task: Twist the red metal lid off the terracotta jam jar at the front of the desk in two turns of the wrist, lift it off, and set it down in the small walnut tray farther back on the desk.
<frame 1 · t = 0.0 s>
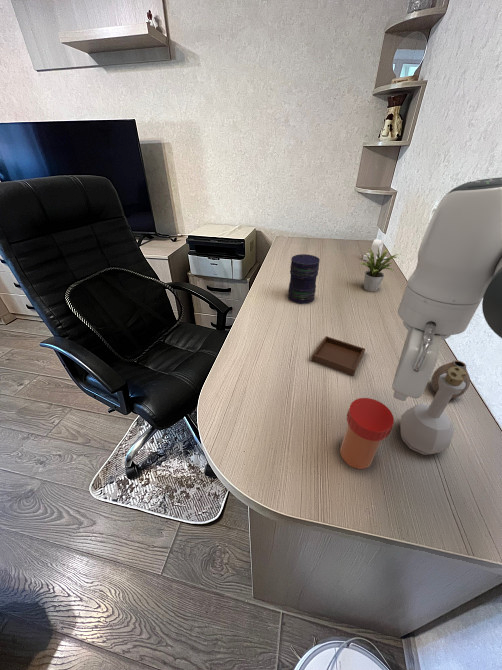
hand: (403, 379, 47), 15 cm above the table, tool pointing down, fingers open, 8 cm apart
jar: (355, 454, 52), on the table
jar lid: (370, 415, 46), point 11 cm above the table, screwed on, not yet turned
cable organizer: (374, 260, 137), on the table
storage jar: (300, 298, 104), on the table
vase: (443, 392, 65), on the table
tray: (337, 357, 75), on the table
house plant: (371, 290, 109), on the table
potion bottle: (418, 439, 55), on the table
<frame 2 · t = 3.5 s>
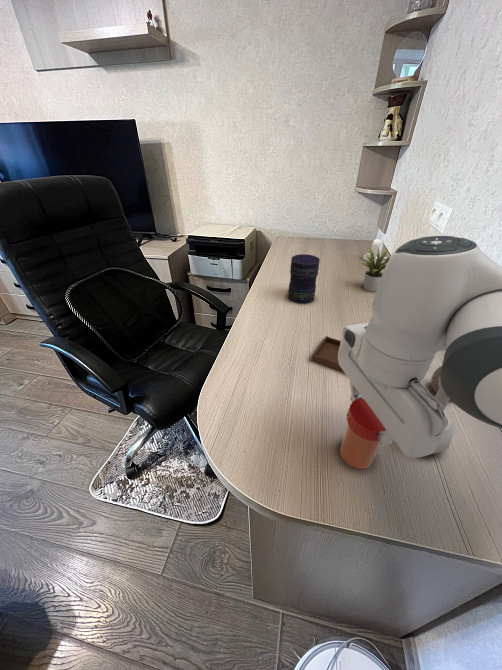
hand: (368, 420, 47), 10 cm above the table, tool pointing down, fingers closed on jar lid, 7 cm apart
jar lid: (370, 415, 46), point 11 cm above the table, screwed on, not yet turned, touching gripper
everything else where it was.
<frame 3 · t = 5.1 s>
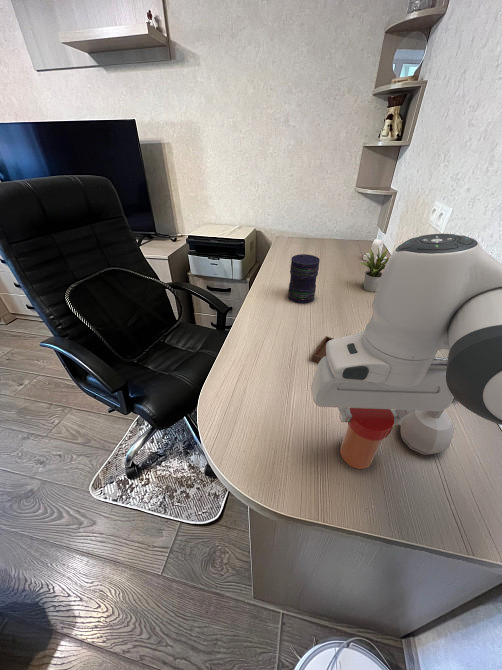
hand: (368, 420, 46), 10 cm above the table, tool pointing down, fingers closed on jar lid, 7 cm apart
jar lid: (371, 414, 45), point 12 cm above the table, turned 75° so far, risen 0.2 cm, still on its thread, touching gripper
everything else where it was.
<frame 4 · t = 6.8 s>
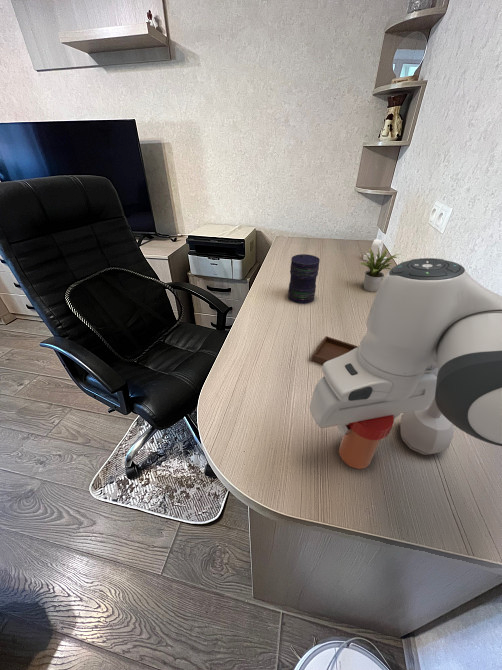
hand: (362, 428, 48), 7 cm above the table, tool pointing down, fingers closed on jar, 6 cm apart
jar: (354, 453, 52), on the table, touching gripper
jar lid: (370, 414, 45), point 12 cm above the table, turned 90° so far, risen 0.3 cm, still on its thread
everything else where it was.
when the fingers open (7 cm above the table, at t = 7.2 s): jar stays where it is, on the table.
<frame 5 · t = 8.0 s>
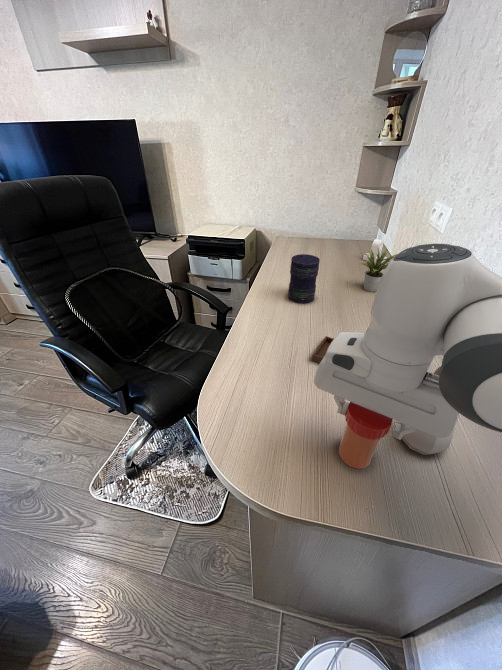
hand: (368, 422, 47), 9 cm above the table, tool pointing down, fingers open, 8 cm apart
jar: (354, 453, 52), on the table
jar lid: (369, 413, 46), point 12 cm above the table, turned 84° so far, risen 0.3 cm, still on its thread
everything else where it was.
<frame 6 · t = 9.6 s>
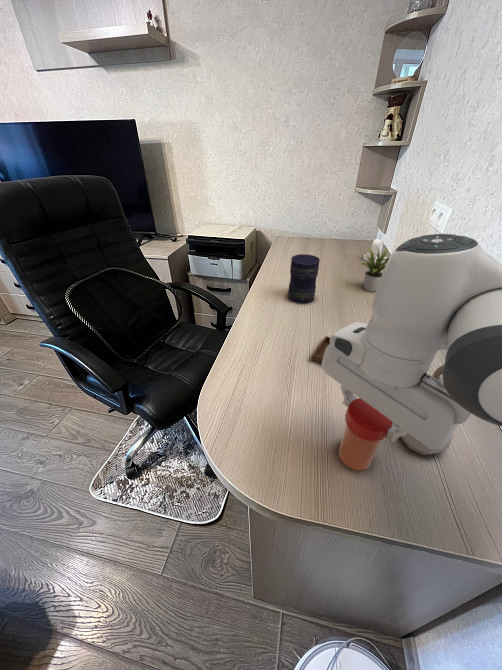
hand: (368, 419, 46), 10 cm above the table, tool pointing down, fingers closed on jar lid, 7 cm apart
jar lid: (369, 415, 45), point 12 cm above the table, turned 107° so far, risen 0.3 cm, still on its thread, touching gripper
everything else where it was.
when the fingers open (1 cm above the table, at t = 21.1 s): jar lid stays where it is, resting on tray.
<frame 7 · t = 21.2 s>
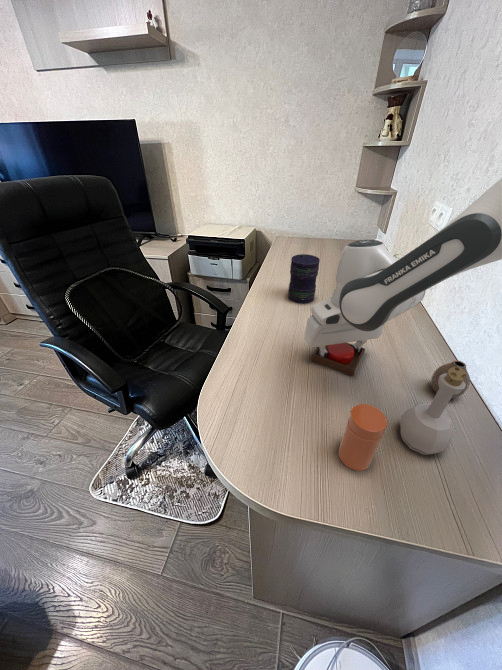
hand: (339, 353, 74), 2 cm above the table, tool pointing down, fingers open, 8 cm apart
jar lid: (340, 350, 74), point 3 cm above the table, off its thread, touching tray
everything else where it was.
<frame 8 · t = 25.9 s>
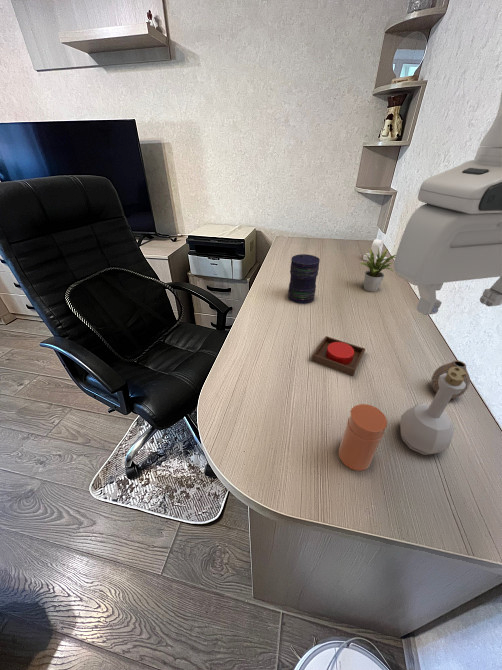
hand: (458, 308, 35), 31 cm above the table, tool pointing down, fingers open, 8 cm apart
nothing on the table moved.
at the end: jar lid inside the target area in the tray (0.4 cm from its centre), point 2.7 cm above the tray's base; the gripper is holding nothing; jar tilted 0° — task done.
